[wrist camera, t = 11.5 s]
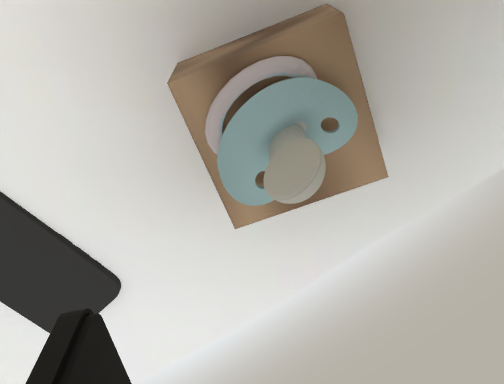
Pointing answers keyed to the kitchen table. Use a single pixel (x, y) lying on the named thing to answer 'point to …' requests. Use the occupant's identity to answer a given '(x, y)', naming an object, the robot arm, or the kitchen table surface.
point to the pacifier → (277, 132)
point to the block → (266, 46)
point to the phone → (47, 270)
